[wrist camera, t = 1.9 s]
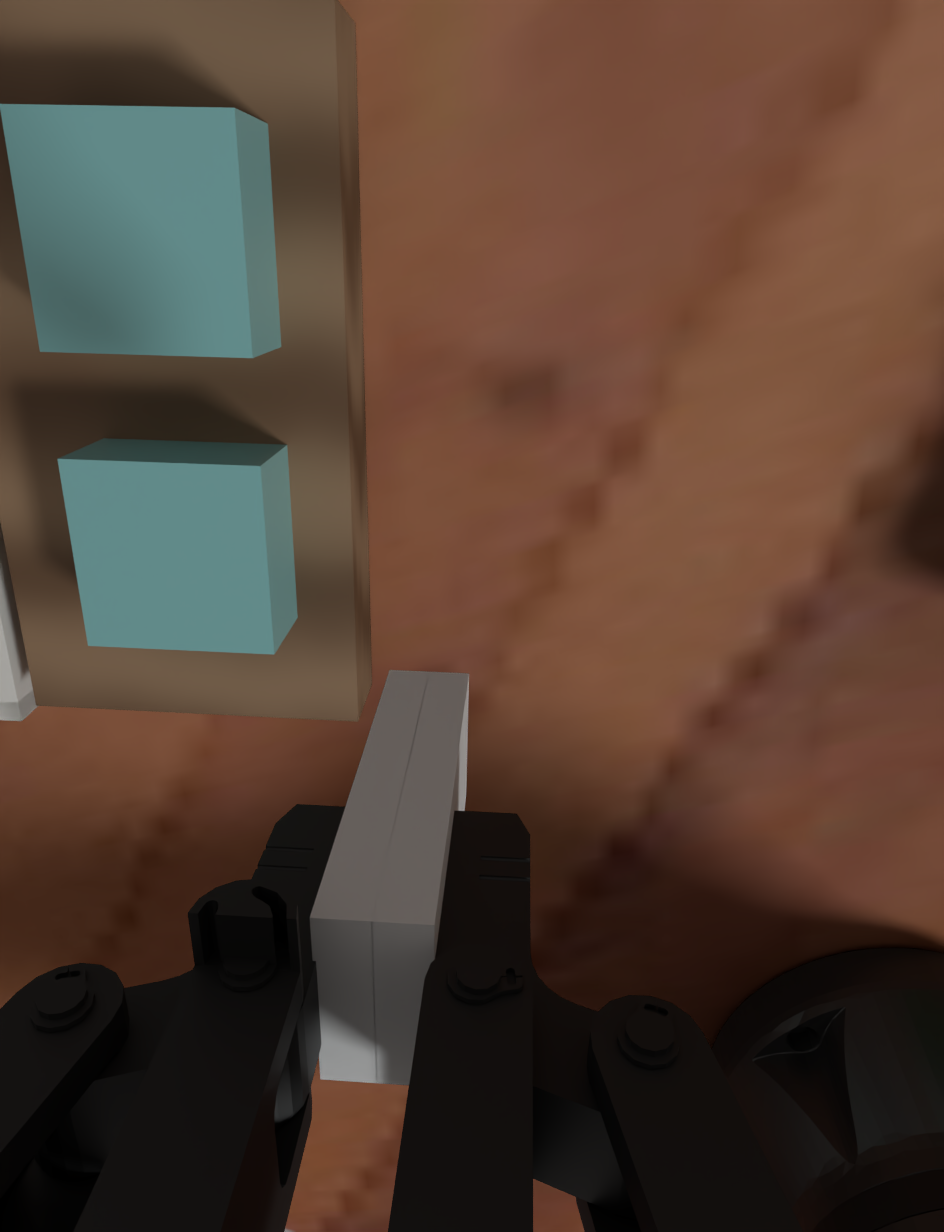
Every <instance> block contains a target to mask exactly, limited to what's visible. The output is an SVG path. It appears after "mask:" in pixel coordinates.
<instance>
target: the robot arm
mask: <svg viewBox="0 0 944 1232" xmlns="http://www.w3.org/2000/svg"><path fill="white" fill-rule="evenodd" d="M468 695H469V674H466V673H445V672H423V671H401V670H389V674H388V677H387V680H386V683H385V686H384V689H383V692H382V695H381V698H380V701H379V705H378V708H377V711H376V714H375V717H374V720H373V723H372V726H371V729H370V732H369V736H368V739H367V742H366V745H365V748H364V751H363V754H362V757H361V760H360V763H359V766H358V770H357V773H356V776H355V779H354V782H353V785H352V788H351V791H350V794H349V797H348V801H347V804H346V807H339V806H320V805H302V804H297V805H296V806H295V807H293V808H292V809H291V810H290V811H289V812H288V813H287V814H286V815H285V816H283V817H282V818H281V819H280V820H279V821H278V822H277V823H276V824H275V826H274V829H273V831H272V833H271V836H270V838H269V840H268V842H267V845H266V850H264V852H263V854H262V856H261V859H260V861H259V863H258V869H256V870H255V872H254V875H253V877H252V879H251V880H239V881H234V882H231V883H228V884H225V885H222V886H219V887H216V888H215V889H213V890H212V891H210V892H208V893H207V894H205V895H204V896H202V897H201V898H199V899H198V901H197V902H196V903H195V904H194V906H193V907H192V908H191V909H190V911H189V912H188V918H189V926H190V933H191V940H192V948H193V955H194V962H195V966H194V968H193V970H191V971H189V972H187V973H185V974H183V975H180V976H177V977H174V978H170V979H167V980H163V981H159V982H154V983H148V984H143V985H138V986H133V987H128V988H124V986H123V984H122V983H121V981H120V979H119V977H118V975H117V974H116V973H115V972H114V971H112V970H110V969H108V968H106V967H104V966H102V965H97V964H86V963H79V964H74V965H68V966H63V967H58V968H56V969H54V970H52V971H49V972H47V973H45V974H43V975H40V976H38V977H36V978H35V979H34V980H32V981H31V982H30V983H28V984H27V985H26V986H25V987H23V988H22V989H21V990H19V991H18V992H17V993H16V994H15V995H14V996H13V997H12V998H11V999H10V1000H9V1001H8V1002H7V1003H6V1004H5V1005H4V1006H3V1007H2V1008H1V1009H0V1232H284V1230H285V1226H286V1222H287V1218H288V1214H289V1209H290V1205H291V1201H292V1197H293V1193H294V1189H295V1185H296V1181H297V1177H298V1173H299V1168H300V1164H301V1160H302V1156H303V1152H304V1148H305V1144H306V1140H307V1136H308V1132H309V1127H310V1123H311V1118H312V1096H311V1083H312V1080H313V1076H314V1072H315V1068H316V1064H317V1060H318V1056H319V1064H320V1079H324V1080H339V1081H354V1082H368V1083H383V1084H398V1085H409V1090H408V1097H407V1104H406V1110H405V1117H404V1124H403V1131H402V1138H401V1145H400V1152H399V1159H398V1166H397V1173H396V1180H395V1187H394V1194H393V1200H392V1207H391V1214H390V1221H389V1228H388V1232H533V1179H536V1180H538V1181H540V1182H543V1183H545V1184H547V1185H550V1186H552V1187H554V1188H557V1189H559V1190H561V1191H564V1192H566V1193H568V1194H571V1195H573V1196H575V1197H576V1202H577V1206H578V1209H579V1213H580V1216H581V1220H582V1223H583V1227H584V1231H585V1232H944V954H943V953H938V952H934V951H927V950H920V949H909V948H878V949H866V950H859V951H852V952H847V953H842V954H837V955H833V956H829V957H826V958H822V959H819V960H816V961H813V962H810V963H808V964H805V965H802V966H800V967H798V968H795V969H793V970H791V971H789V972H787V973H785V974H783V975H781V976H779V977H777V978H776V979H774V980H772V981H771V982H769V983H768V984H766V985H765V986H763V987H762V988H760V989H759V990H758V991H756V992H755V993H754V994H752V995H751V996H750V997H749V998H748V999H747V1000H745V1001H744V1002H743V1003H742V1004H741V1005H740V1006H739V1007H738V1008H737V1009H736V1010H735V1012H734V1013H733V1014H732V1015H731V1016H730V1018H729V1019H728V1020H727V1022H726V1023H725V1024H724V1026H723V1027H722V1029H721V1031H720V1032H719V1034H718V1036H717V1038H716V1040H715V1042H714V1045H713V1047H712V1050H711V1048H710V1046H709V1044H708V1042H707V1040H706V1038H705V1036H704V1034H703V1032H702V1031H701V1030H700V1028H699V1027H698V1026H697V1024H696V1023H695V1022H694V1020H693V1019H692V1018H691V1016H690V1015H688V1014H687V1013H685V1012H684V1011H682V1010H681V1009H679V1008H678V1007H677V1006H675V1005H674V1004H672V1003H670V1002H667V1001H664V1000H661V999H658V998H655V997H652V996H637V995H628V996H625V997H622V998H619V999H615V1000H612V1001H610V1002H609V1003H607V1004H606V1005H605V1006H604V1007H603V1008H602V1009H601V1010H600V1011H598V1012H597V1011H594V1010H591V1009H588V1008H585V1007H582V1006H580V1005H577V1004H574V1003H572V1002H570V1001H568V1000H566V999H564V998H561V997H560V996H558V995H557V994H556V993H554V992H553V991H552V990H550V989H549V988H548V987H547V986H546V985H545V984H544V983H543V982H542V980H541V979H540V978H539V977H538V975H537V973H536V971H535V969H534V967H533V965H532V960H531V954H530V834H529V832H528V831H527V829H526V828H525V826H524V824H523V823H522V821H521V820H520V818H519V816H518V815H517V814H511V813H492V812H473V811H465V802H466V785H467V740H468Z"/></svg>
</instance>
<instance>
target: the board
mask: <svg viewBox="0 0 944 1232" xmlns="http://www.w3.org/2000/svg"><path fill="white" fill-rule="evenodd" d="M0 104H36V105H99V106H161V107H223V108H236V109H238V110H240V111H242V112H245V113H247V114H249V115H251V116H253V117H255V118H257V119H259V120H261V121H263V122H265V123H267V124H268V134H269V151H270V168H271V184H272V201H273V217H274V234H275V251H276V267H277V284H278V300H279V317H280V333H281V347H280V348H278V349H275V350H272V351H270V352H267V353H265V354H262V355H260V356H257V357H255V358H229V357H196V356H162V355H129V354H96V353H62V352H40V349H39V343H38V337H37V331H36V325H35V319H34V313H33V306H32V300H31V294H30V288H29V282H28V276H27V270H26V264H25V257H24V251H23V245H22V239H21V233H20V227H19V221H18V215H17V209H16V202H15V196H14V190H13V184H12V178H11V172H10V166H9V160H8V153H7V147H6V141H5V135H4V129H3V123H2V117H1V111H0V523H1V528H2V533H3V538H4V543H5V548H6V553H7V559H8V564H9V569H10V574H11V579H12V584H13V589H14V595H15V600H16V605H17V610H18V615H19V620H20V625H21V631H22V636H23V641H24V646H25V651H26V656H27V661H28V667H29V672H30V677H31V682H32V687H33V692H34V697H35V703H36V706H56V707H76V708H96V709H116V710H136V711H156V712H176V713H196V714H217V715H237V716H257V717H277V718H297V719H317V720H337V721H357V722H358V721H359V718H360V715H361V713H362V710H363V707H364V704H365V702H366V699H367V696H368V693H369V691H370V688H371V685H372V664H371V624H370V585H369V545H368V506H367V466H366V427H365V387H364V348H363V308H362V269H361V229H360V190H359V150H358V111H357V71H356V32H355V22H354V21H353V19H352V18H351V17H350V16H349V14H348V13H347V12H346V10H345V9H344V8H343V6H342V5H341V4H340V3H339V1H338V0H0ZM103 438H108V439H137V440H166V441H194V442H223V443H252V444H281V445H287V449H288V466H289V483H290V499H291V516H292V532H293V549H294V566H295V582H296V599H297V615H298V618H297V619H296V621H295V623H294V624H293V626H292V627H291V629H290V631H289V632H288V634H287V635H286V637H285V638H284V640H283V642H282V643H281V645H280V646H279V648H278V650H277V651H276V653H275V654H274V655H273V654H251V653H230V652H208V651H187V650H165V649H144V648H122V647H100V646H88V643H87V637H86V631H85V625H84V618H83V612H82V606H81V600H80V594H79V588H78V582H77V576H76V570H75V563H74V557H73V551H72V545H71V539H70V533H69V527H68V521H67V514H66V508H65V502H64V496H63V490H62V484H61V478H60V472H59V465H58V458H60V457H63V456H65V455H67V454H69V453H72V452H74V451H76V450H78V449H81V448H83V447H85V446H87V445H90V444H92V443H94V442H97V441H99V440H101V439H103Z"/></svg>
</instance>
